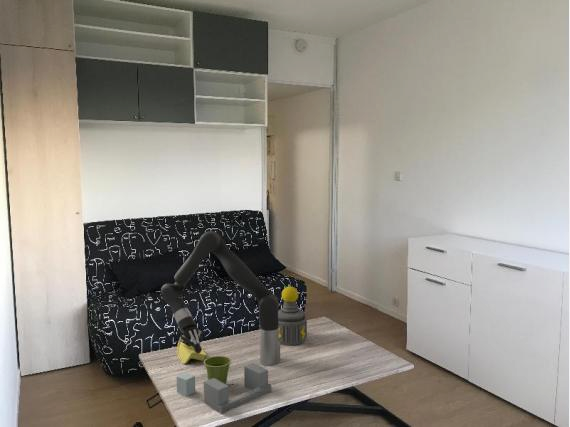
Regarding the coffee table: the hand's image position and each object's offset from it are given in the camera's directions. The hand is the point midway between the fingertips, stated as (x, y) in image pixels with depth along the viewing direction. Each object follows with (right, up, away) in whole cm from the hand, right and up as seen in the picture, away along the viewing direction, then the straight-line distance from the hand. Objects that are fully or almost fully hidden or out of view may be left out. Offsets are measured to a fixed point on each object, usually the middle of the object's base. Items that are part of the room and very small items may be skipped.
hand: (199, 352), depth 215 cm
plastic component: (-9, -9, +24) cm, 27 cm away
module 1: (-3, -13, -14) cm, 19 cm away
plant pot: (+10, -12, -9) cm, 18 cm away
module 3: (+27, -12, -11) cm, 31 cm away
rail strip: (+23, -13, -23) cm, 35 cm away
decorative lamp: (+42, -7, +45) cm, 62 cm away
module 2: (+11, -14, -26) cm, 31 cm away
